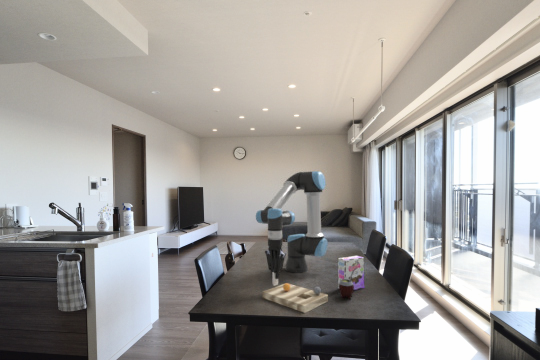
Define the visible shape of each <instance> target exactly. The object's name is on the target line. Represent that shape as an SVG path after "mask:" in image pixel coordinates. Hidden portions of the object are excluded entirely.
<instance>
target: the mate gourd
mask: <svg viewBox="0 0 540 360" xmlns="http://www.w3.org/2000/svg"><path fill="white" fill-rule="evenodd" d="M356 269H357V268H356ZM356 269H354V270H353V271H352V274H351V277H352V275H353V273H354V271H355V270H356ZM351 277H350V279H349V280H348V279H343V280H341V281H340V283H339V292H340V298H341V299H348V300H349V301H350V300H352V298H351V297H353V293H354V291H355V290H354V285H353V282H352V281H351Z"/></svg>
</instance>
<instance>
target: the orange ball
mask: <svg viewBox="0 0 540 360" xmlns="http://www.w3.org/2000/svg"><path fill="white" fill-rule="evenodd" d="M283 284H284V285H283V289H284V290H285V291H289V290H290V285H289V284H290V283H288V282H286V283H283Z"/></svg>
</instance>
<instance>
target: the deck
mask: <svg viewBox="0 0 540 360" xmlns="http://www.w3.org/2000/svg"><path fill="white" fill-rule="evenodd" d="M284 284H285V283H282V284H279V285H276V286H274V287H272V288H268V289H266V290H263V291H262V299H266V300H267V301H271V302H273V303H276V304H279V305H281V306H285V307H286V308H287V307H288V308H290V309H293V310H294V311H295V310H296V311H298V312H301V313H302V314H303V313H304V314H306V313H309V311H312V310H314V309H316V308H319V306H321V305H324V304H326V303H328V302H329V295H328V294H326V293H323V292H321V293H320V294H319V295H316V294H315V293H314V291H313V290H314V289H309V288H306V287H301V286H298V285H294V284H292V283H288V284H289V285H290V290H289V291H285V290H284V289H283V285H284Z"/></svg>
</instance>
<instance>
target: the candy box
mask: <svg viewBox="0 0 540 360" xmlns="http://www.w3.org/2000/svg"><path fill="white" fill-rule="evenodd" d="M356 268H357V269H356ZM354 269H356V270H355V271H354V273H353V275H352V277H351V274H352V271H353V270H354ZM350 277H351V281H352V282H353V285H354V290H353V291H355V290H356V291H357V290H361V289H365V257H363V256H359V255H352V256H345V257H338V258H337V289H339V283H340V281H341V280H343V279H348V280H349V279H350Z"/></svg>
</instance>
